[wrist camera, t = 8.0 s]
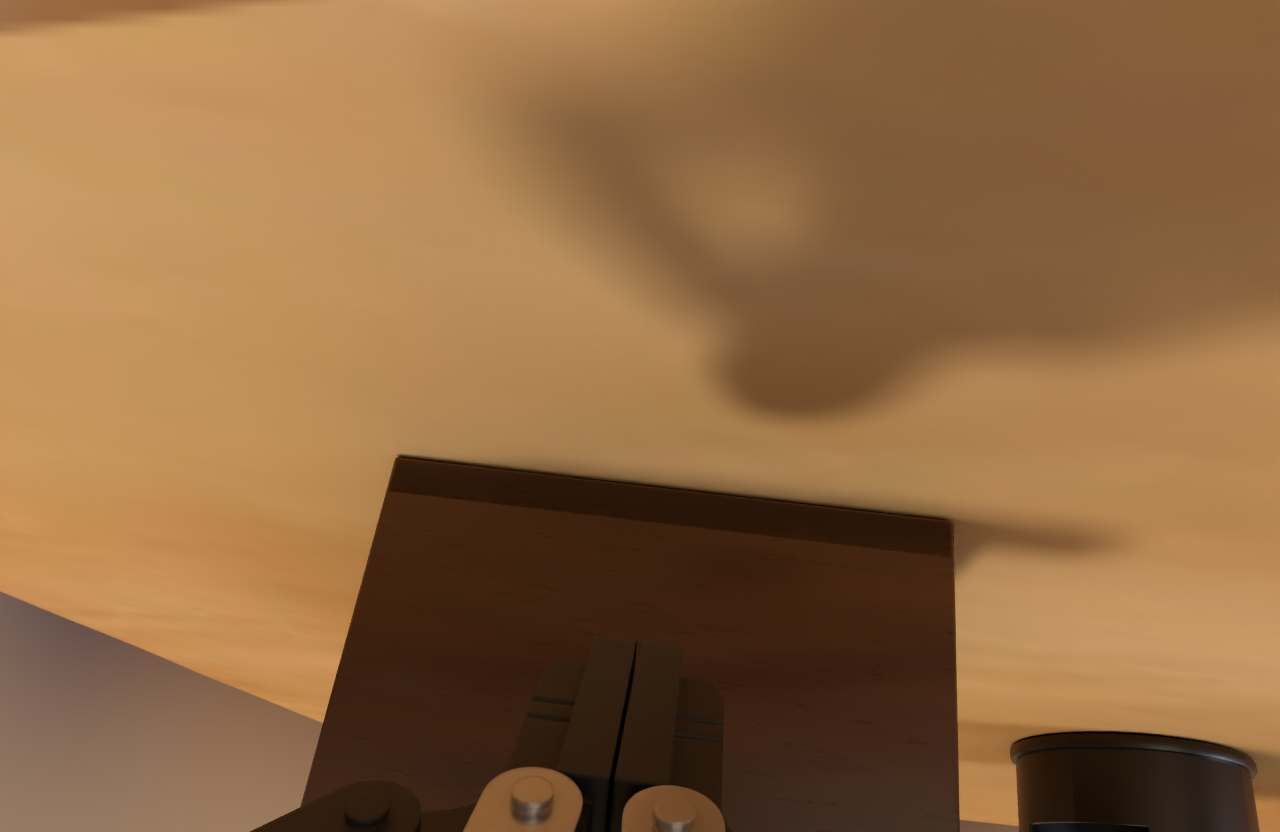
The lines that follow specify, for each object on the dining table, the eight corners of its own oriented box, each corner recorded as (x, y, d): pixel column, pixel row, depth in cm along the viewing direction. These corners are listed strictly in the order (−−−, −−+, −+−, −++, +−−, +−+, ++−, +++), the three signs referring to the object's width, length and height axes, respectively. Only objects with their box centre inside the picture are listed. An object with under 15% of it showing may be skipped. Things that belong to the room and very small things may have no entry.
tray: (391, 450, 22) (261, 920, 18) (958, 514, 22) (969, 1028, 17) (502, 648, 39) (448, 920, 34) (826, 690, 38) (814, 974, 34)
